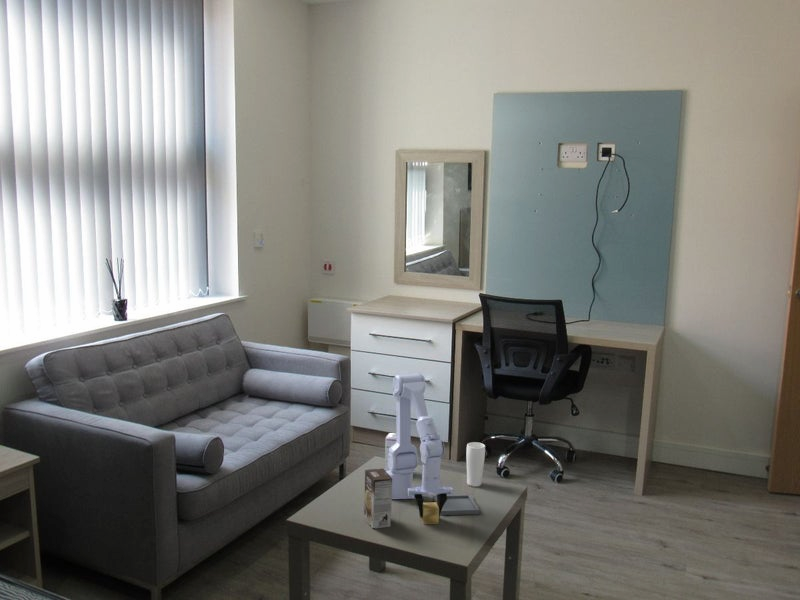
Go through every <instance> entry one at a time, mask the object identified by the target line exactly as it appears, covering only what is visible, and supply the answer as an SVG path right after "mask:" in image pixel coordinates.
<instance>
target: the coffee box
mask: <svg viewBox="0 0 800 600" xmlns="http://www.w3.org/2000/svg"><path fill="white" fill-rule="evenodd" d="M392 501H393V499H392V477H391V476H390V475H389V474H388V473H387V472H386V471H385V468H372V469H365V470H364V501H363V502H364V506H363V507H364V511H363V512H364V513H363V517H365V518H364V519H365V520H366V522H367V523H368V524H369V526H370V525H371V526H370V527H371V529H372V528H375V529H382V528H389V527H390V528H391V526H392V525H391V523H392V522H391V521H392V503H393V502H392Z"/></svg>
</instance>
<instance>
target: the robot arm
mask: <svg viewBox="0 0 800 600" xmlns="http://www.w3.org/2000/svg"><path fill="white" fill-rule="evenodd" d="M425 390H426V379H425V376H424V375H423V374H422V373H420V372H419V373H412V374H396V375H395V376H394V377H393V380H392V396H393V397H395V399H396V405H395V406H396V413H395V414H396V425H395V426H396V427H395V428H396V433H397V442H396V443H395V444H394V445H393V446H392V447H390V448H389V454H388V458H387V463H388V467H389V469H390V470H389V471H386V472H387V473H388V474H389V475H390V476H391V477H392V500H409V499H410V500H411V499H412V500H414V499H415V502H416V503H417V508H418V512H419V517H420V519H421V518H423V503H424V496H431V497H432V496H433V497H434V496H435V495H437V505H438V507H439V518H440V517H441V510H442V508H443V506H444V504H445V502H446V501H447V495H454V488H453V487H452V486H451V487H450V486H442V485H440V484H441V483H440V482H441V465H442V464H441V463H442V462H441V461H442V457H443V456H444V455H445V452H446V451H445V449H446V447H445V444H444V442H445V441H444V440H443V439H442V438H441V436H440V434H438V433H437V429H436V427H435V423H434V421H433V418H432V417H430V416H429V415H428V409H427V404H426V401H425V400H426V399H425V396H424V393H425ZM411 407H412V409H413V411H414V414H415V416H416V418H417V421H416V423H415V426H416V429H417V433H418V436H419V440H420V445H419V450H420V451H419V452H420V458H419V455H418V449H417V447H416V446H415V445H414V444H412V441H411V440H412V439H411V437H412V435H411V433H412V432H411V429H412V428H411V424H412V423H411V420H412V417H411V416H412V414H411V413H412V411H411ZM420 459H421V462H422V470H421V471H422V473H421V475H422V476H421V486H416V487H413V481H414V480H413V478H414V477H413V476H414V472H415V471H416V469H417V468H418V466H419V462H420V461H419V460H420Z"/></svg>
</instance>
